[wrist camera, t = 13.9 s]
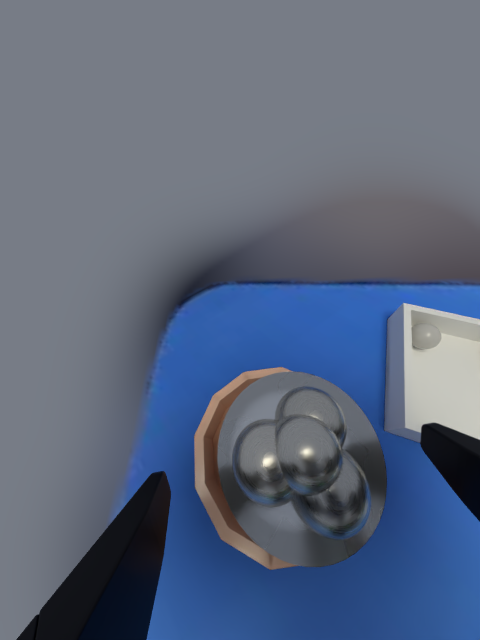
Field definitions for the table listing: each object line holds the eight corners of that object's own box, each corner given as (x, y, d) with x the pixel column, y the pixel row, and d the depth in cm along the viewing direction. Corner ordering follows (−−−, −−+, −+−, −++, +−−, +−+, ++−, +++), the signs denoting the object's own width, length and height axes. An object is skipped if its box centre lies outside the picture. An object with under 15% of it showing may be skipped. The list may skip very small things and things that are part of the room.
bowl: (263, 582, 14) (266, 630, 11) (184, 435, 19) (165, 431, 15) (369, 465, 17) (402, 469, 13) (277, 362, 22) (282, 342, 18)
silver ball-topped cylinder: (295, 508, 16) (426, 701, 4) (228, 470, 17) (162, 516, 5) (315, 433, 18) (438, 395, 6) (255, 404, 19) (255, 327, 7)
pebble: (420, 358, 21) (438, 347, 19) (396, 339, 22) (411, 328, 20) (435, 343, 21) (454, 331, 19) (411, 326, 22) (427, 313, 20)
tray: (553, 487, 16) (610, 494, 13) (384, 430, 18) (405, 427, 16) (515, 349, 21) (552, 335, 19) (387, 319, 24) (403, 302, 21)
